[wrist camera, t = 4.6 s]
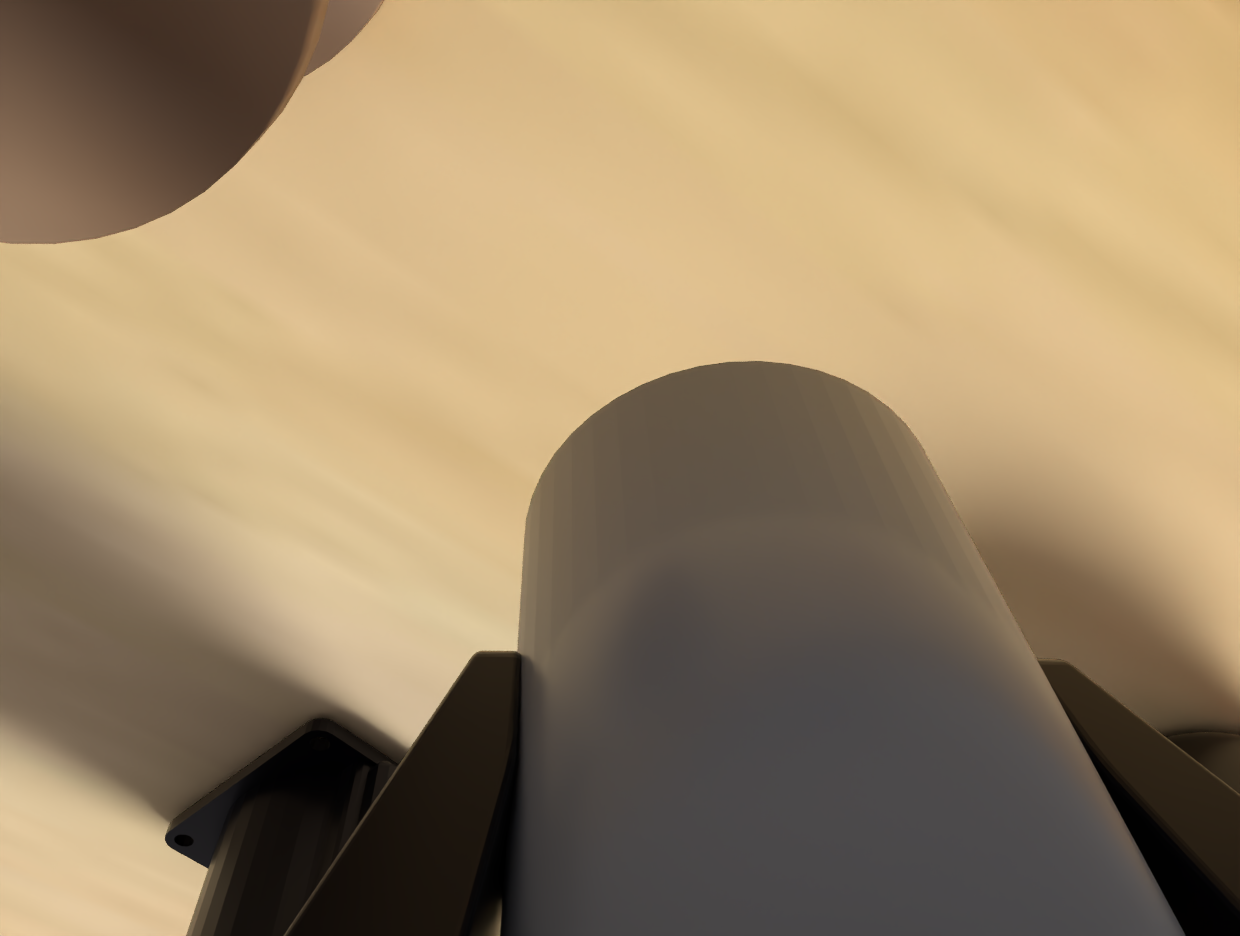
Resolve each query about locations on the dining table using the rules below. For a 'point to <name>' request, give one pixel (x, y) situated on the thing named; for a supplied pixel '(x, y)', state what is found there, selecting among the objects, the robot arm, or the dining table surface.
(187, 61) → the door knob
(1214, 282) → the dining table surface
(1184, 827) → the robot arm
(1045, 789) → the grey capped cylinder
